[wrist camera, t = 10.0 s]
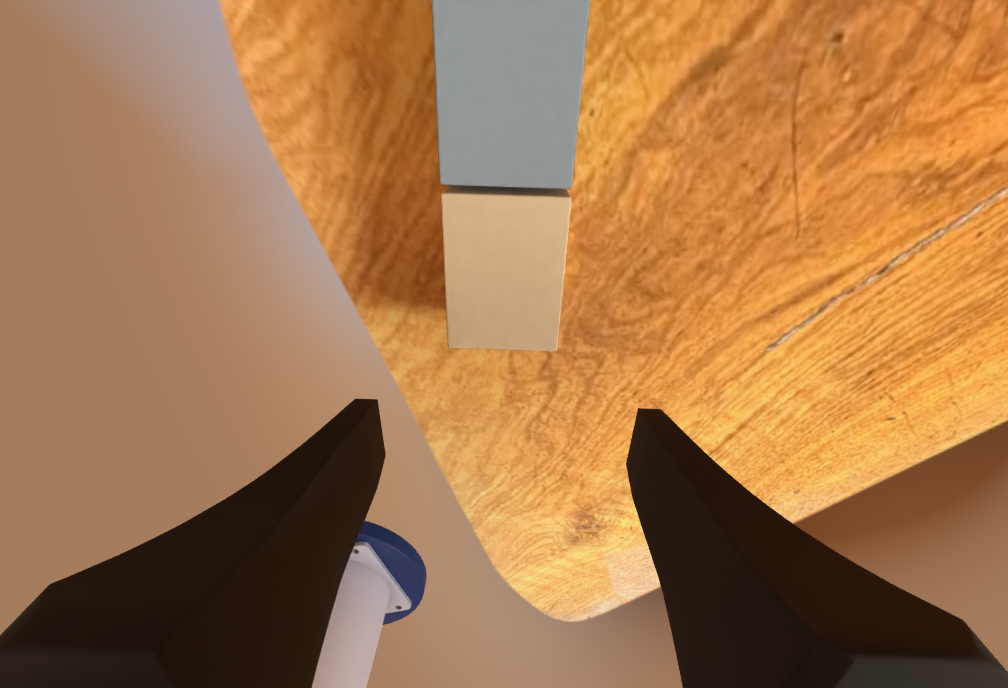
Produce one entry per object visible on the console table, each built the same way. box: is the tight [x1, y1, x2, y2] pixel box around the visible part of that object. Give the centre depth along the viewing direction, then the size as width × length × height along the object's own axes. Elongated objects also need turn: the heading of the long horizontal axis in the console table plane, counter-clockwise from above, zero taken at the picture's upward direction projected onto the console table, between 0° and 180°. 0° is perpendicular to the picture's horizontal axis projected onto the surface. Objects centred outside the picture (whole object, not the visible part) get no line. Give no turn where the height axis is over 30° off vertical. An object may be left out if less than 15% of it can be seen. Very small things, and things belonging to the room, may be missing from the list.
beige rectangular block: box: [441, 185, 572, 351], centre depth 18 cm, size 6×4×4 cm
